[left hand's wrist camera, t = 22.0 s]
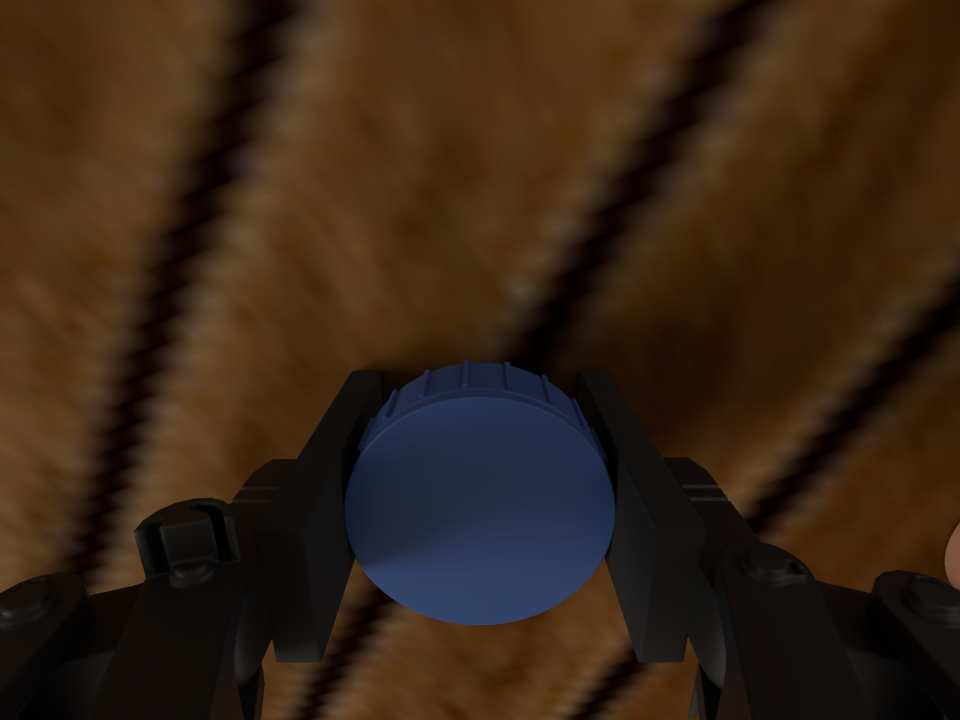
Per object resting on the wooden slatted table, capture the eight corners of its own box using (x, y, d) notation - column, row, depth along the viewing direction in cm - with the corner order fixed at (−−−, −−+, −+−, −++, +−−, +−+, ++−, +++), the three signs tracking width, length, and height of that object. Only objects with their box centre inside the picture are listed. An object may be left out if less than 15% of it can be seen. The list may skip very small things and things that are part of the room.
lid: (314, 485, 12) (286, 538, 10) (460, 307, 11) (456, 334, 9) (495, 600, 13) (498, 666, 12) (648, 454, 12) (678, 504, 10)
